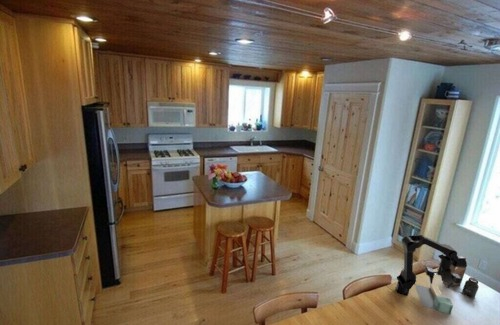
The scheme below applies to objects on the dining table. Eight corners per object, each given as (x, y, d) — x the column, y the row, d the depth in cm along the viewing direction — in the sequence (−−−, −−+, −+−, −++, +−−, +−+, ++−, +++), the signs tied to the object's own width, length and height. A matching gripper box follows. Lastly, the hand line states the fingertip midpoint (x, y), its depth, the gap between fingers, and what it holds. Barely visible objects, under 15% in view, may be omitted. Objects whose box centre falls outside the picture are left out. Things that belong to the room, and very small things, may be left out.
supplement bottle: (463, 296, 173) (469, 281, 170) (460, 289, 179) (465, 274, 176) (476, 300, 170) (482, 284, 167) (472, 292, 177) (477, 277, 173)
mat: (422, 307, 161) (422, 306, 161) (414, 284, 181) (414, 283, 180) (451, 314, 157) (451, 314, 157) (439, 291, 176) (439, 290, 176)
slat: (436, 302, 165) (437, 298, 164) (429, 287, 178) (430, 283, 177) (442, 304, 164) (444, 299, 163) (435, 289, 177) (436, 285, 176)
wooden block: (460, 285, 183) (468, 263, 178) (446, 285, 182) (454, 263, 177) (456, 281, 187) (463, 260, 182) (442, 282, 185) (449, 260, 180)
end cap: (436, 310, 159) (439, 301, 157) (433, 303, 165) (436, 295, 163) (450, 313, 157) (453, 305, 155) (446, 306, 162) (449, 298, 161)
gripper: (432, 268, 160) (426, 290, 165) (468, 277, 155) (461, 299, 159) (427, 258, 171) (421, 278, 175) (460, 266, 165) (454, 286, 169)
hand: (439, 285), depth 169 cm, fingers open, 9 cm apart
